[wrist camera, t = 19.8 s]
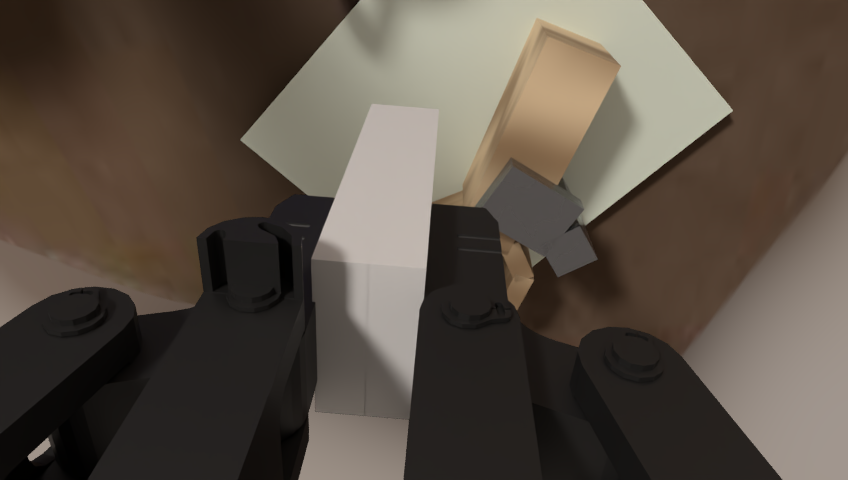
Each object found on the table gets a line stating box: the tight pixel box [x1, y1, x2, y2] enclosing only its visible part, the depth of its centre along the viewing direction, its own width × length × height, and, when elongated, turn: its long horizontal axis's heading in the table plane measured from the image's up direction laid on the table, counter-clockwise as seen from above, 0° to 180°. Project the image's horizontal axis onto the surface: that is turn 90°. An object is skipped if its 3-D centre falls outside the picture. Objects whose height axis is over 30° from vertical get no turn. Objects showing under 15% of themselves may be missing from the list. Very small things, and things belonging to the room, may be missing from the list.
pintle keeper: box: [475, 157, 598, 277], centre depth 37 cm, size 7×10×9 cm
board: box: [241, 0, 733, 267], centre depth 38 cm, size 20×22×1 cm
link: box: [432, 18, 621, 310], centre depth 37 cm, size 18×7×5 cm, turn 160°
